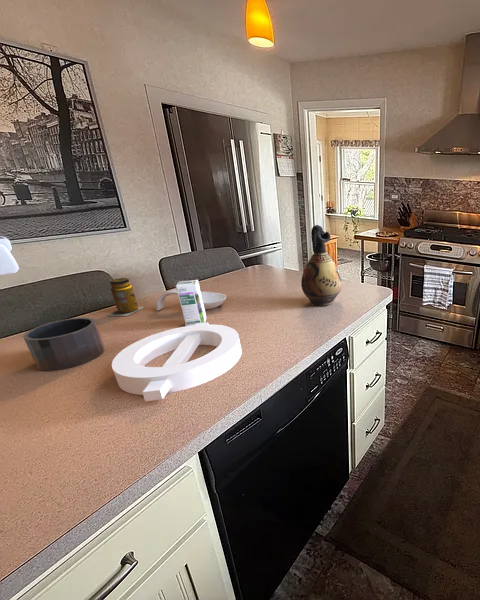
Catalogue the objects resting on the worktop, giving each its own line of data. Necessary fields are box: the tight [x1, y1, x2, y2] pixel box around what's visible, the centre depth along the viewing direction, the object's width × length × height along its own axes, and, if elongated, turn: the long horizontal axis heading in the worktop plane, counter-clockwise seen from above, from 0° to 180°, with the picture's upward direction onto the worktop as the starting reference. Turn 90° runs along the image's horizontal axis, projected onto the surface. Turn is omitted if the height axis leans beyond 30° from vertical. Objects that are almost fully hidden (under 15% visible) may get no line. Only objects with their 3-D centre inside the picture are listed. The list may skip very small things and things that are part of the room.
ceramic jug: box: [300, 224, 343, 307], centre depth 125 cm, size 17×15×30 cm
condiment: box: [107, 277, 145, 317], centre depth 118 cm, size 7×8×12 cm
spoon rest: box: [155, 288, 227, 311], centre depth 122 cm, size 24×12×7 cm, turn 100°
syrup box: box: [175, 279, 207, 326], centre depth 109 cm, size 6×6×14 cm
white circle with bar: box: [111, 321, 243, 402], centre depth 87 cm, size 28×28×5 cm
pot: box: [22, 317, 106, 372], centre depth 88 cm, size 14×14×9 cm
